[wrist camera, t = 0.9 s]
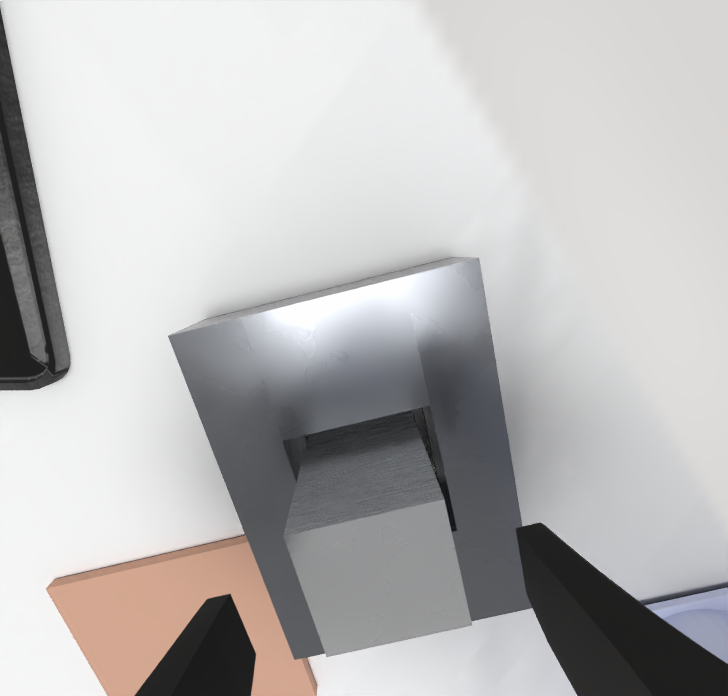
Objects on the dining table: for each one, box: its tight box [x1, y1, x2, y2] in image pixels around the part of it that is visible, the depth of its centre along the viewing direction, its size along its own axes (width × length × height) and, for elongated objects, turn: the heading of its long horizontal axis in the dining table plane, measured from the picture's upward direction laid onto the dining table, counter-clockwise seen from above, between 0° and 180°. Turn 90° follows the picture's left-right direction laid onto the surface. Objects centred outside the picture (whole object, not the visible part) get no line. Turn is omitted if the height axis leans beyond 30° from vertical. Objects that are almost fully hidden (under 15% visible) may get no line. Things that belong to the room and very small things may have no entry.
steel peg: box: [283, 410, 472, 657], centre depth 13 cm, size 4×4×7 cm
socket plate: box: [168, 257, 532, 660], centre depth 15 cm, size 14×10×3 cm
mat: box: [46, 535, 317, 696], centre depth 18 cm, size 10×10×1 cm
